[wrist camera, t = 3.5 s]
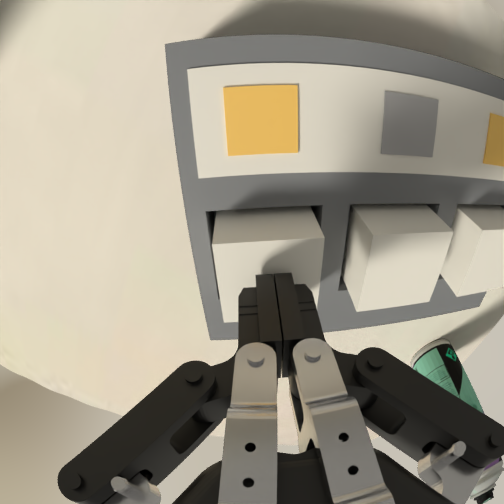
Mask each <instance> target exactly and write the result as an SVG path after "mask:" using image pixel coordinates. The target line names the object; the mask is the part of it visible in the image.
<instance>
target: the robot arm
mask: <svg viewBox="0 0 504 504" xmlns="http://www.w3.org/2000/svg"><path fill="white" fill-rule="evenodd" d="M255 277H256V287H248V288H243V289H242V291H241V293H240V294H239V296H238V349H237V351H236V353H235V355H234V356H233V357H232V358H230V359H229V360H227V361H226V362H223V363H220V364H217V365H214V366H210V365H208V364H207V363H205V362H202V361H190V362H186V363H184V364H182V365H181V366H180V367H179V368H177V369H176V370H175V371H174V372H173V373H172V374H171V375H170V376H169V377H167V378H166V379H165V380H164V381H163V382H162V383H161V384H160V385H159V386H157V387H156V388H155V389H154V390H153V391H152V392H151V393H150V394H148V395H147V396H146V397H145V398H144V399H143V400H142V401H140V402H139V403H138V404H137V405H136V406H135V407H134V408H132V409H131V410H130V411H129V412H128V413H127V414H126V415H124V416H123V417H122V418H121V419H120V420H119V421H118V422H116V423H115V424H114V425H113V426H112V427H110V428H109V429H108V430H107V431H106V432H105V433H103V434H102V435H101V436H100V437H99V438H97V439H96V440H95V441H94V442H93V443H92V444H90V445H89V446H88V447H87V448H86V449H84V450H83V451H82V452H81V453H80V454H78V455H77V456H76V457H75V458H74V459H72V460H71V461H70V462H69V463H67V464H66V465H65V466H64V467H63V468H62V469H61V470H60V472H59V475H58V486H59V489H60V491H61V493H62V494H63V495H64V496H65V497H66V498H68V499H69V500H71V501H74V502H76V503H79V504H160V501H161V494H160V491H159V489H158V488H157V485H158V484H159V483H161V481H163V480H164V479H165V478H166V477H167V476H168V475H169V474H170V473H171V472H172V471H173V470H174V469H175V468H176V467H177V466H178V465H179V464H180V463H182V462H183V461H184V459H186V458H187V457H188V456H189V455H190V454H191V453H192V452H193V451H194V450H195V449H196V447H198V446H199V445H200V444H201V443H202V442H203V441H204V439H205V438H206V437H207V436H208V435H209V434H210V433H211V432H212V431H213V430H214V429H215V428H216V427H217V426H218V425H219V424H220V423H221V421H222V420H223V419H224V418H226V427H225V437H224V447H223V457H222V461H219V462H217V463H215V464H213V465H212V466H210V467H208V468H207V469H206V470H204V471H203V472H202V473H201V474H200V475H199V476H198V477H197V478H196V479H195V480H194V481H193V482H192V483H191V485H190V486H189V487H188V488H187V489H186V490H185V491H184V492H183V493H182V494H181V495H180V496H179V497H178V498H177V499H176V500H175V501H174V502H173V503H172V504H465V503H466V501H467V500H468V498H469V496H470V495H471V493H472V491H473V489H474V488H475V486H476V484H477V482H478V480H479V479H480V477H481V475H482V473H483V471H484V469H485V468H486V466H488V465H489V464H491V463H492V462H494V461H495V460H497V459H498V458H500V457H501V456H502V455H504V427H503V426H502V425H501V424H499V423H497V422H496V421H494V420H493V419H491V418H490V417H488V416H486V415H485V414H483V413H482V412H480V411H479V410H477V409H475V408H474V407H472V406H471V405H469V404H467V403H466V402H464V401H463V400H461V399H460V398H458V397H456V396H455V395H453V394H452V393H450V392H449V391H447V390H445V389H444V388H442V387H441V386H439V385H438V384H436V383H434V382H433V381H431V380H430V379H428V378H427V377H425V376H424V375H422V374H420V373H419V372H417V371H416V370H414V369H413V368H411V367H410V366H408V365H406V364H405V363H403V362H402V361H400V360H399V359H397V358H396V357H394V356H393V355H391V354H389V353H388V352H386V351H385V350H383V349H380V348H375V347H370V348H366V349H364V350H362V351H361V352H360V353H359V354H358V355H353V354H346V353H341V352H338V351H336V350H334V349H333V348H331V347H330V346H329V345H328V344H327V342H326V341H325V338H324V334H323V331H322V327H321V323H320V319H319V315H318V312H317V308H316V304H315V300H314V297H313V293H312V291H311V290H310V289H309V288H308V287H307V286H306V284H294V280H293V276H292V273H291V272H290V273H274V278H273V274H259V275H255ZM281 371H282V378H283V377H288V378H289V385H290V388H289V397H290V401H291V406H292V410H293V415H294V420H295V424H296V429H297V434H298V446H299V454H286V453H279V452H277V387H278V378H281ZM366 426H367V427H368V428H370V429H371V430H372V431H374V432H375V433H377V434H378V435H379V436H381V437H382V438H384V439H385V440H386V441H388V442H389V443H391V444H392V445H394V446H395V447H396V448H398V449H399V450H401V451H402V452H404V453H405V454H407V455H408V456H410V457H411V458H413V459H414V460H416V461H417V462H418V474H419V477H420V478H421V479H422V480H423V481H425V482H426V483H424V482H423V481H421V480H420V479H419V478H417V477H416V476H414V475H413V474H412V473H410V472H409V471H408V470H406V469H405V468H404V467H402V466H401V465H399V464H398V463H397V462H395V461H394V460H393V459H392V458H390V457H389V456H387V455H386V454H385V453H383V452H381V451H379V450H377V449H375V448H373V446H372V443H371V440H370V437H369V434H368V431H367V428H366Z"/></svg>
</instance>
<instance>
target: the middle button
mask: <svg viewBox="0 0 504 504" xmlns="http://www.w3.org/2000/svg"><path fill="white" fill-rule="evenodd" d="M453 232H454V231H453V230H452V229H451V228H450V227H449V226H448V225H447V224H446V223H445V222H444V221H443V220H442V219H441V218H440V217H439V216H438V215H437V214H436V213H435V212H433V211H432V210H431V209H430V208H429V207H428V206H427V205H426V204H418V203H409V204H351V208H350V217H349V225H348V233H347V241H346V248H345V255H344V261H343V268H342V274H341V275H342V277H343V279H344V282H345V284H346V287H347V289H348V292H349V294H350V296H351V299H352V301H353V304H354V306H355V309H356V311H357V312H360V311H368V310H376V309H384V308H391V307H398V306H405V305H412V304H418V303H425V302H429V301H430V298H431V296H432V293H433V291H434V288H435V285H436V283H437V280H438V277H439V275H440V272H441V269H442V266H443V263H444V260H445V257H446V254H447V251H448V248H449V245H450V242H451V239H452V235H453Z"/></svg>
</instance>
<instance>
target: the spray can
mask: <svg viewBox="0 0 504 504" xmlns="http://www.w3.org/2000/svg"><path fill="white" fill-rule="evenodd" d="M411 367H412V368H413V369H414V370H416V371H417V372H419V373H420V374H422V375H424V376H425V377H427V378H428V379H430V380H431V381H433V382H434V383H436V384H438V385H439V386H441V387H442V388H444V389H445V390H447V391H449V392H450V393H452V394H453V395H455V396H456V397H458V398H460V399H461V400H463V401H464V402H466V403H467V404H469V405H471V406H472V407H474V408H475V409H477V410H479V411H480V412H482V413H483V414H484V411H483V409H482V407H481V405H480V403H479V400H478V398H477V396H476V394H475V391H474V389H473V387H472V385H471V383H470V381H469V379H468V377H467V374H466V373H465V371H464V368H463V366H462V364H461V362H460V361H459V359H458V357H457V355H456V353H455V351H454V349H453V347H452V345H451V344H450V342H449V341H448V340H446V339H440V340H436V341H434V342H431V343H429V344H428V345H426V346H424V347H423V348H422V349H420V350H419V351H418V352H417V353H416V354H415V355H414V357H413V358H412V360H411ZM502 465H503V461H502V458H501V457H500V458H498V459H497V460H495V461H494V462H492V463H491V464H489V465H488V466H486V468H485V469H484V471H483V473H482V475H481V477H480V479H479V480H478V482H477V484H476V486H475V488H474V489H473V491H472V493H471V495H470V496H471V497H470V499H473V498H474V500H477V503H478V504H483V503H485V502H487V501H488V500H490V499H492V498H494V497H493V492H492V491H493V490H494V488H493V487H495V486H496V484H494V483H495V482H496V481H497V479H498V478H499V476H500V475H501V472H502V471H504V468H502Z"/></svg>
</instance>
